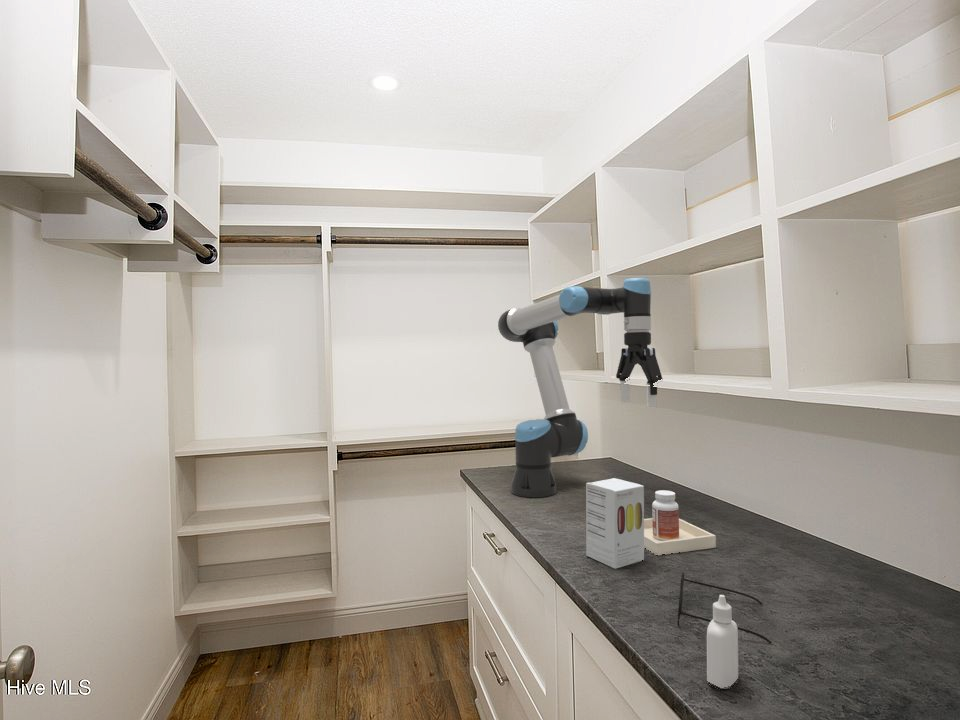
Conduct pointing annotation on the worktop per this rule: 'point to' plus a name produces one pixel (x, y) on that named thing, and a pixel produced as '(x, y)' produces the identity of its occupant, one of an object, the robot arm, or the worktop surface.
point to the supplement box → (615, 522)
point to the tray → (687, 540)
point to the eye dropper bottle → (722, 646)
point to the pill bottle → (665, 516)
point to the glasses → (708, 619)
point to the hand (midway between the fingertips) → (638, 404)
